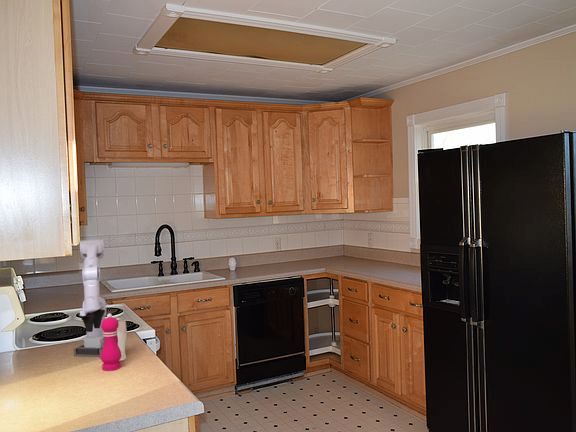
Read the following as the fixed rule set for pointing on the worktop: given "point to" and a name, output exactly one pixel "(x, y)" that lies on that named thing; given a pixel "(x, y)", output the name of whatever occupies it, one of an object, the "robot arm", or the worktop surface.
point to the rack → (87, 351)
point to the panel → (93, 342)
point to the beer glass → (121, 337)
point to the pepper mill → (110, 344)
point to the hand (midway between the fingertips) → (93, 329)
